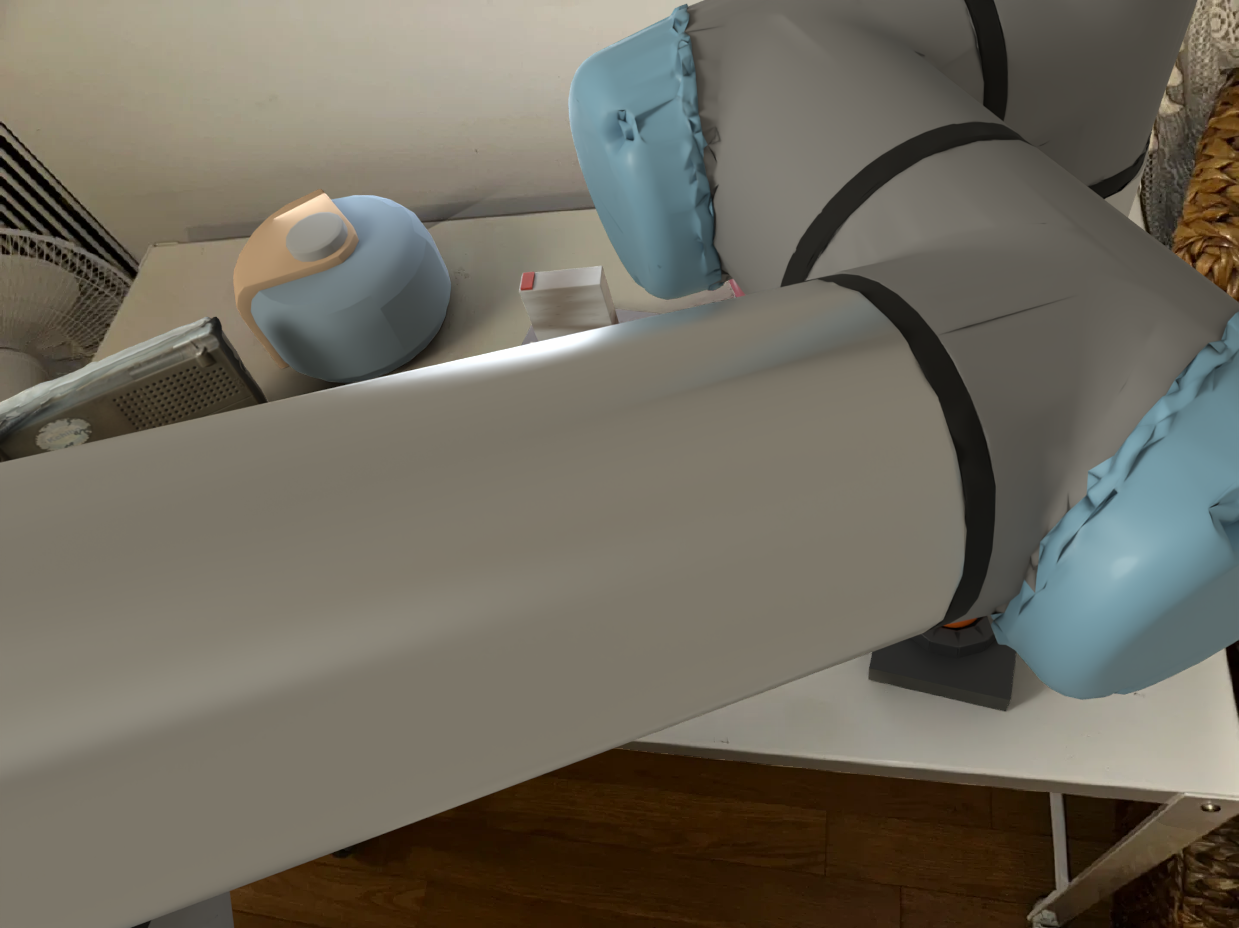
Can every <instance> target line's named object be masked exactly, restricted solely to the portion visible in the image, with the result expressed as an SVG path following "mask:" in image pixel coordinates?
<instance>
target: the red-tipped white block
mask: <svg viewBox="0 0 1239 928" xmlns="http://www.w3.org/2000/svg"><path fill="white" fill-rule="evenodd" d="M518 295H519V296H520V299H521V301H522V304H523V306H524V309H525V311H526V314H527V316H528V319H529V322H530V324H532V326H533V329H534V331H535V334H536V336H537V339H538V341H539V342H540V341H544V340H549V339H553V338H558V337H562V336H567V335H571V334H576V333H580V332H585V331H589V330H593V329H598V328H602V327H607V326H611V325H616V324H619V321H618V318H617V314H616V311H615V309H616V307H615V303H614V301H613V297H612V294H611V289H610V287H609V284H608V281H607V276H606V273H605V269H604V266H603V265H595V266H586V267H577V268H576V267H575V268H567V269H566V268H565V269H558V270H549V271H548V270H547V271H537V272H535V271H527V272H526V271H525V272H522V274H521V277H520V283H519V289H518Z"/></svg>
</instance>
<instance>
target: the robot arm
mask: <svg viewBox="0 0 1239 928" xmlns="http://www.w3.org/2000/svg"><path fill="white" fill-rule="evenodd" d="M1197 4H1198V0H700V1H698V2H696V3H694V4H691V5H689V4H688V3H684V4H681V5H679V6H676V7H674V9H673V10H672V12H671V13H670V15H669V16H667V17H665V18H662V19H661V20H658V21H657V22H655V23H653V24H651V25H648V26H646V27H644V28H642V29H640V30H638V31H636V32H634V33H632V34H630V35H628V36H626V37H624V38H622V39H620V40H618V41H616V42H614V43H612V44H610V45H608V46H606V47H604V48H602V49H600V50H597V51H595V52H594V53H592V54H591V55H590V56H588V57H587V58H585V59H584V60H583V62H581V63H580V65H579V66H578V67H577V69H576V71H575V73H574V74H573V77H572V80H571V83H570V86H569V93H568V94H569V95H568V101H567V102H568V103H567V108H568V119H569V126H570V131H571V137H572V141H573V145H574V149H575V152H576V157H577V160H578V163H579V167H580V170H581V173H582V176H583V179H584V181H585V184H586V186H587V190H588V192H589V195H590V199H591V200H592V202H593V205H594V208H595V211H596V213H597V215H598V218H599V221H600V223H601V224H602V225H601V226H602V227H603V229H604V231H605V233H606V235H607V238H608V240H609V242H610V244H611V245H612V247H613V249H614V251H615V253H616V255H617V257H618V258H619V261H620V262H621V264H622V265H623V267H624V269H625V270H626V272H627V273H628V274H629V276H630V278H631V279H632V280H633V281H634V283H636V284H637V286H639V287H641V288H643V290H645V292H647V293H648V294H649V295H651V296H654V297H655V298H658V299H661V300H665V301H669V300H676V299H680V298H684V297H688V296H691V295H694V294H698V293H701V292H704V291H711V292H714V291H716V290H718V289H720V288H722V287H724V284H725V283H726V282H729V280H731V279H734V281H735V282H736V283H737V285H738V286H739V287H740V289H741V290H742V291H743V293H744V294H745V296H740V297H736V296H735V297H732V298H728V299H723V300H719V301H714V302H710V303H705V304H701V305H697V306H692V307H691V306H690V307H688V308H683V309H682V308H681V309H679V310H678V309H677V310H675V311H674V310H673V311H670V312H666V313H660V315H656V316H651V317H647V318H642V319H638V320H634V321H629V322H625V323H620V324H616V325H611V326H607V327H602V328H598V329H593V330H589V331H585V332H580V333H576V334H571V335H567V336H562V337H558V338H553V339H549V340H544V341H540V342H536V343H531V344H527V345H522V346H521V345H519V346H518V345H517V346H514V347H509V348H505V349H499V350H496V351H491V352H488V353H483V354H479V355H473V356H469V357H464V358H461V359H456V360H452V361H447V362H443V363H438V364H434V365H429V366H425V367H420V368H416V369H412V370H407V371H402V372H398V373H393V374H389V375H384V376H379V377H375V378H372V379H370V380H365V381H358V382H352V383H348V384H345V385H340V386H336V387H332V388H327V389H322V390H318V391H314V392H309V393H305V394H300V395H296V396H295V395H294V396H295V397H292V396H290V397H291V398H290V397H287V398H282V399H278V400H274V401H268V403H264V404H259V405H255V406H251V407H246V408H242V409H237V410H233V411H228V412H224V413H219V414H215V415H210V416H206V417H202V418H197V419H193V420H188V421H184V422H179V423H175V424H170V425H166V426H161V427H157V428H153V429H148V430H144V431H139V432H135V433H130V434H126V435H121V436H117V437H113V438H108V439H104V440H99V441H95V442H90V443H86V444H81V445H77V446H72V447H68V448H64V449H59V450H55V451H50V452H46V453H41V454H37V455H32V456H28V457H23V458H19V459H15V460H10V461H6V462H1V463H0V928H235V924H234V923H235V922H234V916H233V908H232V899H231V892H230V891H233V890H235V889H239V888H241V887H244V886H246V885H249V884H252V883H254V882H257V881H260V880H263V879H266V878H268V877H271V876H273V875H276V874H279V873H282V872H284V871H288V870H290V869H292V868H295V867H298V866H300V865H303V864H306V863H308V862H312V861H314V860H317V859H319V858H322V857H325V856H327V855H330V854H333V853H334V852H339V851H341V850H343V849H346V848H349V847H352V846H354V845H357V844H359V843H363V842H365V841H368V840H371V839H373V838H376V837H379V836H381V835H383V834H387V833H389V832H392V831H394V830H398V829H400V828H402V827H406V826H409V825H411V824H414V823H416V822H420V821H422V820H425V819H426V818H430V817H432V816H435V815H438V814H440V813H443V812H446V811H448V810H451V809H454V808H456V807H459V806H461V805H464V804H467V803H470V802H473V801H475V800H478V799H481V798H483V797H486V796H489V795H491V794H494V793H497V792H499V791H502V790H505V789H508V788H510V787H514V786H515V785H518V784H521V783H524V782H526V781H529V780H531V779H534V778H537V777H541V776H542V775H545V774H548V773H551V772H554V771H556V770H559V769H561V768H564V767H567V766H569V765H572V764H574V763H578V762H581V761H583V760H585V759H586V760H587V759H589V758H591V757H594V756H596V755H599V754H602V753H604V752H607V751H610V750H612V749H615V748H618V747H620V746H624V745H626V744H628V743H632V742H634V741H637V740H639V739H643V738H644V737H647V736H650V735H653V734H656V733H658V732H661V731H663V730H666V729H669V728H672V727H674V726H676V725H679V724H682V723H685V722H687V721H690V720H693V719H695V718H698V717H702V716H704V715H706V714H709V713H712V712H715V711H717V710H720V709H723V708H726V707H728V706H731V705H733V704H737V703H739V702H741V701H742V702H743V701H744V700H747V699H749V698H752V697H756V696H758V695H761V694H763V693H765V692H769V691H771V690H774V689H777V688H779V687H782V686H785V685H787V684H790V683H792V682H795V681H798V680H801V679H803V678H806V677H808V676H811V675H814V674H817V673H819V672H822V671H825V670H827V669H830V668H833V667H835V666H838V665H841V664H843V663H844V664H845V663H846V662H849V661H851V660H854V659H857V658H860V657H862V656H866V655H869V654H872V652H873V651H876V650H879V649H882V648H884V647H887V646H890V645H892V644H895V643H898V642H900V641H903V640H906V639H908V638H911V637H914V636H917V635H919V634H922V633H925V632H928V631H930V630H933V629H936V628H939V627H941V626H944V625H947V624H951V623H956V622H960V621H965V620H970V619H974V618H979V617H983V616H987V617H988V620H989V622H990V625H991V627H992V630H993V632H994V635H995V637H996V640H997V642H998V644H1000V645H1007V646H1009V647H1011V648H1012V649H1014V650H1015V651H1016V654H1017V655H1019V657H1020V658H1021V660H1023V662H1024V663H1025V664H1026V665H1027V666H1028V667H1029V669H1030V670H1031V671H1032V672H1033V674H1035V676H1036V677H1037V678H1038V679H1039V681H1041V683H1043V684H1044V685H1045V686H1047V687H1048V688H1049V689H1051V690H1052V691H1054V692H1055V693H1057V694H1060V695H1062V696H1064V697H1067V698H1071V699H1076V700H1080V701H1081V700H1082V701H1085V700H1094V699H1102V698H1107V697H1109V696H1112V695H1128V694H1132V693H1135V692H1138V691H1141V690H1144V689H1146V688H1149V687H1151V686H1154V685H1157V684H1159V683H1161V682H1164V681H1165V680H1167V679H1170V678H1171V677H1174V676H1176V675H1177V674H1180V673H1182V672H1184V671H1186V670H1189V669H1191V668H1192V667H1194V666H1196V665H1199V664H1201V663H1202V662H1204V661H1206V660H1207V659H1209V658H1211V657H1212V656H1214V655H1216V654H1218V653H1219V652H1221V651H1222V650H1224V649H1226V648H1228V647H1229V646H1231V645H1233V644H1235V643H1236V642H1237V641H1239V301H1237V300H1236V298H1233V297H1232V296H1231V295H1229V294H1228V293H1227V292H1226V291H1224V290H1223V289H1222V288H1221V287H1220V286H1218V285H1217V284H1215V283H1214V282H1213V281H1211V280H1210V279H1209V278H1208V277H1207V276H1205V275H1203V274H1202V273H1201V272H1199V271H1198V270H1197V269H1196V268H1194V266H1192V265H1191V264H1189V263H1188V262H1187V261H1185V260H1184V259H1182V258H1181V256H1179V255H1177V253H1175V252H1173V251H1172V250H1171V249H1169V247H1167V246H1166V245H1164V244H1163V243H1162V242H1160V241H1159V240H1158V239H1157V238H1156V237H1154V236H1153V235H1151V234H1150V233H1148V231H1146V230H1145V229H1143V228H1142V227H1141V226H1139V225H1138V224H1137V223H1136V222H1135V221H1134V220H1131V218H1129V216H1130V214H1131V210H1132V207H1133V204H1134V203H1135V198H1136V195H1137V192H1138V189H1139V187H1140V184H1141V181H1142V178H1143V175H1144V172H1145V169H1146V165H1147V163H1148V159H1149V149H1150V144H1151V138H1152V134H1153V128H1154V124H1155V121H1156V119H1157V115H1158V113H1159V109H1160V107H1161V104H1162V101H1163V98H1164V96H1165V93H1166V89H1167V86H1168V84H1169V81H1170V78H1171V75H1172V73H1173V70H1174V67H1175V64H1176V61H1177V59H1178V56H1179V53H1180V51H1181V48H1182V45H1183V43H1184V39H1185V38H1186V37H1185V36H1186V33H1187V31H1188V28H1189V25H1190V23H1191V19H1192V18H1193V17H1192V16H1193V14H1194V10H1196V9H1195V8H1196V6H1197Z"/></svg>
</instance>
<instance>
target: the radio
mask: <svg viewBox="0 0 1239 928" xmlns="http://www.w3.org/2000/svg"><path fill="white" fill-rule="evenodd" d="M295 396H297V395H296V394H295V395H293V396H290V397H289V398H291V397H295ZM268 402H269V400H268V399H267V397H266V395H265V394H264V392H263V390H262V388H261V387H260V385H259V384H258V382H257V381H256V380H255V379H254V377H253V375H252V374H251V372H250V371H249V370H248V368H247V367H246V366H245V364H244V362H243V360H242V358H241V356H240V355H239V352H238V351H237V350H236V348H235V346H234V345H233V344H232V341H230V339H229V338H228V336H227V335H226V333H225V332H224V330H223V324H222V323H221V320H220V318H219V317H217V316H213V317H209V316H204V317H203V318H199V319H198V320H196V321H194V322H191V323H187V324H185V325H181V326H178V327H176V328H173V329H170V330H168V331H166V332H164V333H162V334H159V335H156V336H154V337H151V338H149V339H147V340H145V341H142V342H139V343H136V344H135V345H132V346H128V347H126V348H125V349H122V350H119V351H118V352H115V353H113V354H111V355H108V356H106V357H104V358H102V359H100V360H98V361H92V362H89V363H88V364H86V365H85V366H84V367H81V368H79V369H77V370H75V371H72V372H70V373H67V374H64V375H61V376H59V377H56V378H53V379H51V380H46V381H42V382H39V383H37V384H35V385H33V386H30V387H27V388H25V389H23V390H22V391H19V392H18V393H16V394H13V395H11V396H10V397H8V398H6V399H4V400H2V401H0V463H1V462H6V461H10V460H15V459H19V458H23V457H28V456H32V455H37V454H41V453H46V452H50V451H55V450H59V449H64V448H68V447H72V446H77V445H81V444H86V443H90V442H95V441H99V440H104V439H108V438H113V437H117V436H121V435H126V434H130V433H135V432H139V431H144V430H148V429H153V428H157V427H161V426H166V425H170V424H175V423H179V422H184V421H188V420H193V419H197V418H202V417H206V416H210V415H215V414H219V413H224V412H228V411H233V410H237V409H242V408H246V407H251V406H255V405H259V404H264V403H268Z"/></svg>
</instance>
